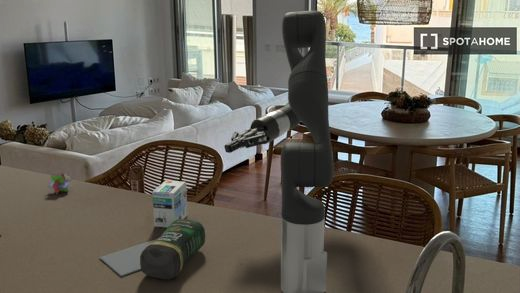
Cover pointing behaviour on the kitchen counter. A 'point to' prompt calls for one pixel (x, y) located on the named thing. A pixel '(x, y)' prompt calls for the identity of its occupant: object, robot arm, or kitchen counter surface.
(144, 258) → the coffee jar
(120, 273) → the grey flat rectangular panel
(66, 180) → the geometric puzzle
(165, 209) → the light bulb box
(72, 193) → the kitchen counter surface
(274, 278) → the kitchen counter surface
